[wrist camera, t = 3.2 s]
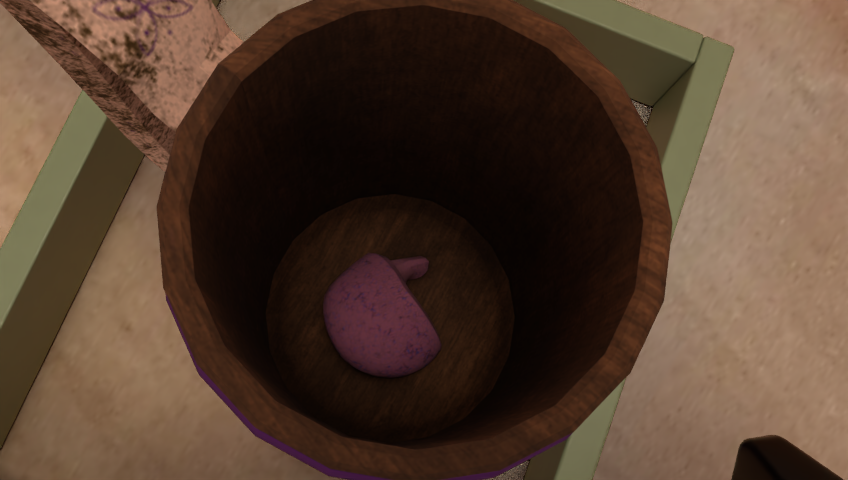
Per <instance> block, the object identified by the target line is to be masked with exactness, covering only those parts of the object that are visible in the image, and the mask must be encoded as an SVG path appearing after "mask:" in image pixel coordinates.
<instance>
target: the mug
mask: <svg viewBox="0 0 848 480" xmlns="http://www.w3.org/2000/svg"><path fill="white" fill-rule="evenodd" d="M0 3H1V4H2V5H3V6H4V7H5V8H6V9H7V10H8V11H9V12H10V13H11V14H12V15H13V16H14V18H15V19H16V20H17V21H18V22H19V23H20V24H21V25H22V26H23V27H24V28H25V29H26V30H27V31H28V32H29V33H30V34H31V35H32V36H33V37H34V38H35V39H36V40H37V41H38V42H39V43H40V45H41V46H42V47H43V48H44V49H45V50H46V51H47V52H48V53H49V54H50V55H51V56H52V57H53V58H54V59H55V60H56V61H57V62H58V63H59V64H60V65H61V66H62V68H63V69H64V70H65V71H66V72H67V73H68V74H69V75H70V76H71V77H72V79H73V80H74V81H75V82H76V83H77V84H78V85H79V86H80V87H81V88H82V89H83V91H84V92H85V93H86V94H87V95H88V96H89V97H90V98H91V99H92V100H93V101H94V103H95V104H96V105H97V106H98V107H99V108H100V109H101V110H102V111H103V112H104V113H105V115H106V116H107V117H108V118H109V119H110V120H111V121H112V122H113V123H114V124H115V125H116V127H117V128H118V129H119V130H120V131H121V132H122V133H123V134H124V135H125V136H126V137H127V138H128V139H129V140H130V141H131V142H132V143H133V144H134V145H135V146H136V147H137V148H138V149H139V150H140V151H141V152H143V153H144V154H145V155H146V156H147V157H148V158H149V159H150V160H151V161H153V162H154V163H155V164H156V165H158V166H159V167H160V168H161V169H162V170H164V171H165V176H164V180H163V184H162V188H161V192H160V196H159V200H158V204H157V216H158V228H159V240H160V252H161V264H162V276H163V288H164V290H165V293H166V301H167V303H168V305H169V307H170V310H171V312H172V314H173V317H174V319H175V321H176V323H177V326H178V328H179V330H180V333H181V335H182V337H183V339H184V342H185V344H186V346H187V349H188V351H189V353H190V355H191V358H192V360H193V362H194V365H195V367H196V369H197V371H198V374H199V375H200V376H201V377H202V378H203V380H204V381H205V382H206V383H207V384H208V385H209V386H210V387H211V388H212V389H213V390H214V392H215V393H216V394H217V395H218V396H219V397H220V398H221V399H222V400H223V401H224V402H225V404H226V405H227V406H228V407H229V408H230V409H231V410H232V411H233V412H234V413H235V414H236V416H237V417H238V418H239V419H240V420H241V421H242V422H243V423H244V424H245V425H246V426H247V428H248V429H249V430H250V431H251V432H252V433H253V434H254V435H255V436H256V437H258V438H260V439H262V440H264V441H266V442H267V443H269V444H271V445H273V446H275V447H277V448H278V449H280V450H282V451H284V452H286V453H287V454H289V455H291V456H293V457H295V458H297V459H298V460H300V461H302V462H304V463H306V464H308V465H309V466H311V467H313V468H315V469H317V470H319V471H320V472H322V473H324V474H326V475H328V476H331V477H337V478H343V479H348V480H482V479H489V478H494V477H496V476H498V475H500V474H502V473H504V472H506V471H508V470H510V469H511V468H513V467H515V466H517V465H519V464H521V463H523V462H525V461H527V460H529V459H531V458H533V457H534V456H536V455H538V454H540V453H542V452H544V451H546V450H548V449H550V448H552V447H554V446H555V445H557V444H559V443H561V442H563V441H565V440H567V439H568V437H569V436H570V435H571V434H572V433H573V432H574V431H575V430H576V429H577V428H578V427H579V426H580V425H581V424H582V423H583V422H584V421H585V420H586V419H587V418H588V417H589V416H590V415H591V414H592V412H593V411H594V410H595V409H596V408H597V407H598V406H599V405H600V404H601V403H602V402H603V401H604V400H605V399H606V398H607V397H608V396H609V395H610V394H611V393H612V391H613V390H614V389H615V388H616V387H617V386H618V385H619V384H620V383H621V382H622V381H623V380H624V379H625V378H626V377H627V376H628V375H629V374H630V372H631V370H632V368H633V366H634V364H635V362H636V359H637V357H638V355H639V353H640V351H641V349H642V347H643V344H644V342H645V340H646V338H647V336H648V334H649V331H650V329H651V327H652V325H653V323H654V321H655V319H656V316H657V314H658V312H659V310H660V308H661V306H662V303H663V301H664V295H665V286H666V277H667V268H668V260H669V251H670V242H671V233H672V224H673V222H672V217H671V212H670V208H669V203H668V198H667V193H666V188H665V183H664V178H663V173H662V168H661V163H660V158H659V154H658V149H657V146H656V144H655V143H654V141H653V139H652V137H651V135H650V133H649V132H648V130H647V128H646V126H645V124H644V123H643V121H642V119H641V117H640V115H639V114H638V112H637V110H636V108H635V106H634V105H633V103H632V101H631V99H630V97H629V96H628V94H627V92H626V90H625V88H624V86H623V85H622V83H621V81H620V80H619V79H618V78H617V77H616V76H615V75H614V74H613V73H612V72H611V71H610V70H609V69H608V68H607V67H606V66H605V65H604V64H603V63H601V62H600V61H599V60H598V59H597V58H596V57H595V56H594V55H593V54H592V53H591V52H590V51H589V50H588V49H587V48H586V47H585V46H584V45H583V44H582V43H581V42H580V41H579V40H578V39H577V38H576V37H575V36H574V35H573V34H572V33H571V32H570V31H568V30H567V29H566V28H565V27H563V26H561V25H559V24H557V23H555V22H553V21H552V20H550V19H548V18H546V17H544V16H542V15H540V14H538V13H536V12H534V11H532V10H530V9H529V8H527V7H525V6H523V5H521V4H519V3H517V2H515V1H513V0H312V1H309V2H307V3H304V4H302V5H299V6H297V7H295V8H292V9H290V10H287V11H285V12H282V13H280V14H278V15H276V16H275V17H274V18H273V19H271V20H270V21H269V22H268V23H267V24H265V25H264V26H263V27H262V28H261V29H259V30H258V31H257V32H256V33H255V34H253V35H252V36H251V37H250V38H249V39H247V40H246V41H245V42H243V41H242V40H241V39H240V38H239V37H237V36H236V35H235V34H234V33H233V32H232V31H231V30H230V28H229V27H228V25H227V24H226V22H225V21H224V19H223V18H222V16H221V15H220V13H219V12H218V10H217V9H216V7H215V6H214V4H213V3H212V1H211V0H0Z"/></svg>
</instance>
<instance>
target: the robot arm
mask: <svg viewBox="0 0 848 480" xmlns="http://www.w3.org/2000/svg"><path fill="white" fill-rule="evenodd" d="M731 480H843V479H842V478H841V477H839V476H838V475H836V474H835V473H833V472H832V471H830V470H829V469H828V468H826V467H825V466H823V465H822V464H820V463H819V462H817V461H816V460H815V459H813V458H812V457H810V456H809V455H807V454H806V453H804V452H803V451H802V450H800V449H799V448H797V447H796V446H794V445H793V444H791V443H790V442H789V441H787V440H786V439H784V438H782V437H780V436H777V435H767V436H761V437H755V438H749V439H746V440H744V441H743V442H742V443H741V444H740V447H739V450H738V454H737V458H736V463H735V467H734V471H733V475H732V479H731Z"/></svg>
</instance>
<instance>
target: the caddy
mask: <svg viewBox="0 0 848 480" xmlns="http://www.w3.org/2000/svg"><path fill="white" fill-rule="evenodd" d="M211 1H212V3H213V4H214V6H215V7H217V5H218V3H219V1H220V0H211ZM513 1H515V2H517V3H519V4H521V5H523V6H525V7H527V8H529V9H530V10H532V11H534V12H536V13H538V14H540V15H542V16H544V17H546V18H548V19H550V20H552V21H553V22H555V23H557V24H559V25H561V26H563V27H565V28H566V29H567V30H568V31H570V32H571V33H572V34H573V35H574V36H575V37H576V38H577V39H578V40H579V41H580V42H581V43H582V44H583V45H584V46H585V47H586V48H587V49H588V50H589V51H590V52H591V53H592V54H593V55H594V56H595V57H596V58H597V59H598V60H599V61H600V62H601V63H603V64H604V65H605V66H606V67H607V68H608V69H609V70H610V71H611V72H612V73H613V74H614V75H615V76H616V77H617V78H618V79H619V80H620V81H621V83H622V85H623V86H624V88H625V90H626V92H627V94H628V96H629V97H630V98H631V99H634V100H636V101H639V102H641V103H644V104H646V105H649V106H653V105H654V107H653V109H652V112H651V115H650V118H649V121H648V124H647V127H646V128H647V130H648V132H649V133H650V135H651V137H652V139H653V141H654V143H655V144H656V146H657V149H658V154H659V158H660V163H661V168H662V173H663V178H664V183H665V188H666V193H667V198H668V203H669V208H670V212H671V217H672V222H673V224H672V233H671V240H672V237H673V234H674V231H675V228H676V225H677V222H678V219H679V216H680V213H681V210H682V207H683V204H684V201H685V198H686V195H687V192H688V189H689V186H690V183H691V180H692V177H693V174H694V171H695V168H696V165H697V162H698V159H699V156H700V153H701V149H702V146H703V143H704V140H705V137H706V134H707V131H708V128H709V125H710V122H711V119H712V116H713V113H714V110H715V107H716V104H717V101H718V98H719V95H720V92H721V89H722V86H723V83H724V80H725V77H726V74H727V71H728V68H729V65H730V62H731V59H732V56H733V53H734V47H732V46H730V45H727V44H725V43H722V42H720V41H717V40H714V39H712V38H709V37H704V38H703V35H702V34H700V33H697V32H695V31H692V30H690V29H687V28H684V27H682V26H679V25H677V24H674V23H672V22H669V21H667V20H664V19H662V18H659V17H656V16H654V15H651V14H649V13H646V12H644V11H641V10H639V9H636V8H633V7H631V6H628V5H626V4H623V3H621V2H618V1H616V0H513ZM143 156H144V153H143V152H141V151H140V150H139V149H138V148H137V147H136V146H135V145H134V144H133V143H132V142H131V141H130V140H129V139H128V138H127V137H126V136H125V135H124V134H123V133H122V132H121V131H120V130H119V129H118V128H117V127H116V125H115V124H114V123H113V122H112V121H111V120H110V119H109V118H108V117H107V116H106V115H105V113H104V112H103V111H102V110H101V109H100V108H99V107H98V106H97V105H96V104H95V103H94V101H93V100H92V99H91V98H90V97H89V96H88V95H87V94H86V93H85V92H84V91H83V90H82V92H81V94H80V96H79V98H78V99H77V101H76V103H75V105H74V107H73V109H72V111H71V113H70V115H69V117H68V119H67V121H66V123H65V125H64V127H63V128H62V130H61V132H60V134H59V136H58V138H57V140H56V142H55V144H54V146H53V148H52V150H51V152H50V154H49V156H48V158H47V159H46V161H45V163H44V165H43V167H42V169H41V171H40V173H39V175H38V177H37V179H36V181H35V183H34V185H33V187H32V189H31V190H30V192H29V194H28V196H27V198H26V200H25V202H24V204H23V206H22V208H21V210H20V212H19V214H18V216H17V218H16V219H15V221H14V223H13V225H12V227H11V229H10V231H9V233H8V235H7V237H6V239H5V241H4V243H3V245H2V247H1V249H0V449H1V447H2V444H3V442H4V440H5V438H6V436H7V434H8V432H9V430H10V428H11V426H12V424H13V422H14V420H15V418H16V416H17V414H18V412H19V410H20V408H21V406H22V404H23V402H24V400H25V397H26V395H27V393H28V391H29V389H30V387H31V385H32V383H33V381H34V379H35V377H36V375H37V373H38V371H39V369H40V367H41V365H42V363H43V361H44V359H45V357H46V355H47V353H48V350H49V348H50V346H51V344H52V342H53V340H54V338H55V336H56V334H57V332H58V330H59V328H60V326H61V324H62V322H63V320H64V318H65V316H66V314H67V312H68V310H69V308H70V305H71V303H72V301H73V299H74V297H75V295H76V293H77V291H78V289H79V287H80V285H81V283H82V281H83V279H84V277H85V275H86V273H87V271H88V269H89V267H90V265H91V263H92V261H93V258H94V256H95V254H96V252H97V250H98V248H99V246H100V244H101V242H102V240H103V238H104V236H105V234H106V232H107V230H108V228H109V226H110V224H111V222H112V220H113V218H114V216H115V214H116V211H117V209H118V207H119V205H120V203H121V201H122V199H123V197H124V195H125V193H126V191H127V189H128V187H129V185H130V183H131V181H132V179H133V177H134V175H135V173H136V171H137V169H138V166H139V164H140V162H141V160H142V158H143ZM670 243H671V242H670ZM625 380H626V378H625V379H624V380H623V381H622V382H621V383H620V384H619V385H618V386H617V387H616V388H615V389H614V390H613V391H612V393H611V394H610V395H609V396H608V397H607V398H606V399H605V400H604V401H603V402H602V403H601V404H600V405H599V406H598V407H597V408H596V409H595V410H594V411H593V412H592V414H591V415H590V416H589V417H588V418H587V419H586V420H585V421H584V422H583V423H582V424H581V425H580V426H579V427H578V428H577V429H576V430H575V431H574V432H573V433H572V434H571V435H570V436H569V437H568V439H567V440H565V441H563V442H561V443H559V444H557V445H555V446H554V447H552V448H550V449H548V450H546V451H544V452H542V453H540V454H538V455H536V456H534V457H533V458H531V460H530V463H529V466H528V468H527V471H526V474H525V477H524V480H593V477H594V474H595V471H596V468H597V465H598V461H599V458H600V455H601V452H602V449H603V446H604V443H605V440H606V437H607V434H608V431H609V428H610V425H611V422H612V419H613V416H614V413H615V410H616V407H617V404H618V401H619V398H620V395H621V392H622V389H623V386H624V383H625Z"/></svg>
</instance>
